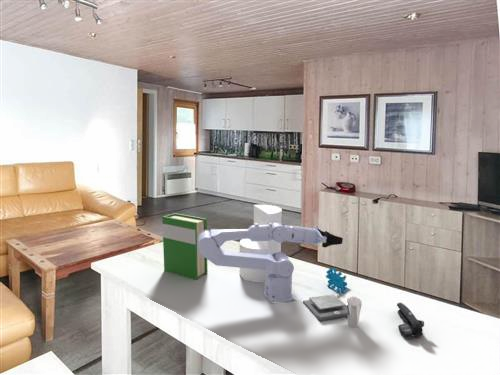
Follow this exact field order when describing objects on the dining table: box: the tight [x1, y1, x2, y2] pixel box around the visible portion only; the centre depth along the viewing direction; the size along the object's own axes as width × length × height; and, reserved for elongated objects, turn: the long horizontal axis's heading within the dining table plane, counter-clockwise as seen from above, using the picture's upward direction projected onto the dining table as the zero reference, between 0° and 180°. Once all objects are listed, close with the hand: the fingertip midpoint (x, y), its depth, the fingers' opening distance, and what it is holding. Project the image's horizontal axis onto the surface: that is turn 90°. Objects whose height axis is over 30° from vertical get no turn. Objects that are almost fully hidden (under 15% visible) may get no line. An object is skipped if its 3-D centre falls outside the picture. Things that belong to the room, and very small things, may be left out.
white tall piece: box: [239, 204, 283, 283], centre depth 149 cm, size 17×17×28 cm
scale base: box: [302, 299, 347, 323], centre depth 122 cm, size 13×13×2 cm
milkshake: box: [344, 295, 363, 329], centre depth 112 cm, size 4×5×10 cm
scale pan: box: [308, 293, 347, 310], centre depth 123 cm, size 10×8×1 cm
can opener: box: [396, 302, 425, 339], centre depth 112 cm, size 18×7×6 cm, turn 171°
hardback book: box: [162, 212, 208, 281], centre depth 150 cm, size 18×7×24 cm, turn 59°
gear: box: [325, 267, 348, 294], centre depth 138 cm, size 11×6×10 cm
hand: (337, 239), depth 130 cm, fingers open, 7 cm apart
